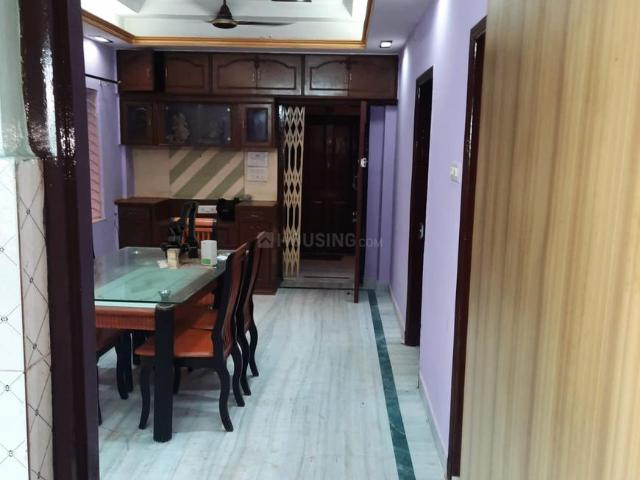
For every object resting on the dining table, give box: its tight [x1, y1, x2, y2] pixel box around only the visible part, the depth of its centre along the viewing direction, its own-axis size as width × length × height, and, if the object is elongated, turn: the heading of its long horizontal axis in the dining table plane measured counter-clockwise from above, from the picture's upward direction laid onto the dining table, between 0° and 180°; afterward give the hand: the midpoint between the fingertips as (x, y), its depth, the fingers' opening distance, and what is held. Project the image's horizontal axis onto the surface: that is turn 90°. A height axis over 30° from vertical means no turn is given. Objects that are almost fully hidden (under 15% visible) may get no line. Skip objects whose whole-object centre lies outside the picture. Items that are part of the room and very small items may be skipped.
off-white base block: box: [156, 259, 168, 269], centre depth 360 cm, size 10×10×3 cm
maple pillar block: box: [167, 249, 180, 270], centre depth 352 cm, size 5×5×12 cm
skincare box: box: [200, 239, 218, 266], centre depth 360 cm, size 8×7×16 cm
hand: (172, 258), depth 350 cm, fingers open, 8 cm apart
